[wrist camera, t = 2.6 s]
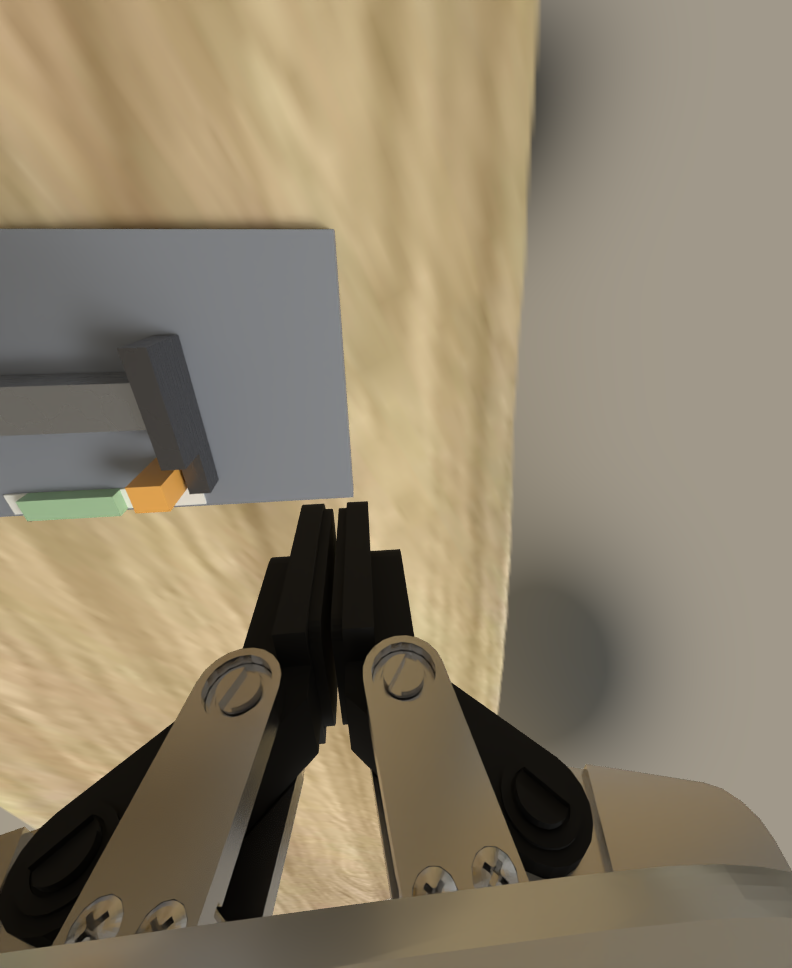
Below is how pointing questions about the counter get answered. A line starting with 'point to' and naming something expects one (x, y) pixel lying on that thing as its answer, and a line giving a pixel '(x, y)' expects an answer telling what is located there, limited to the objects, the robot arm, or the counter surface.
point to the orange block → (156, 489)
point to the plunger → (120, 406)
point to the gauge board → (207, 350)
